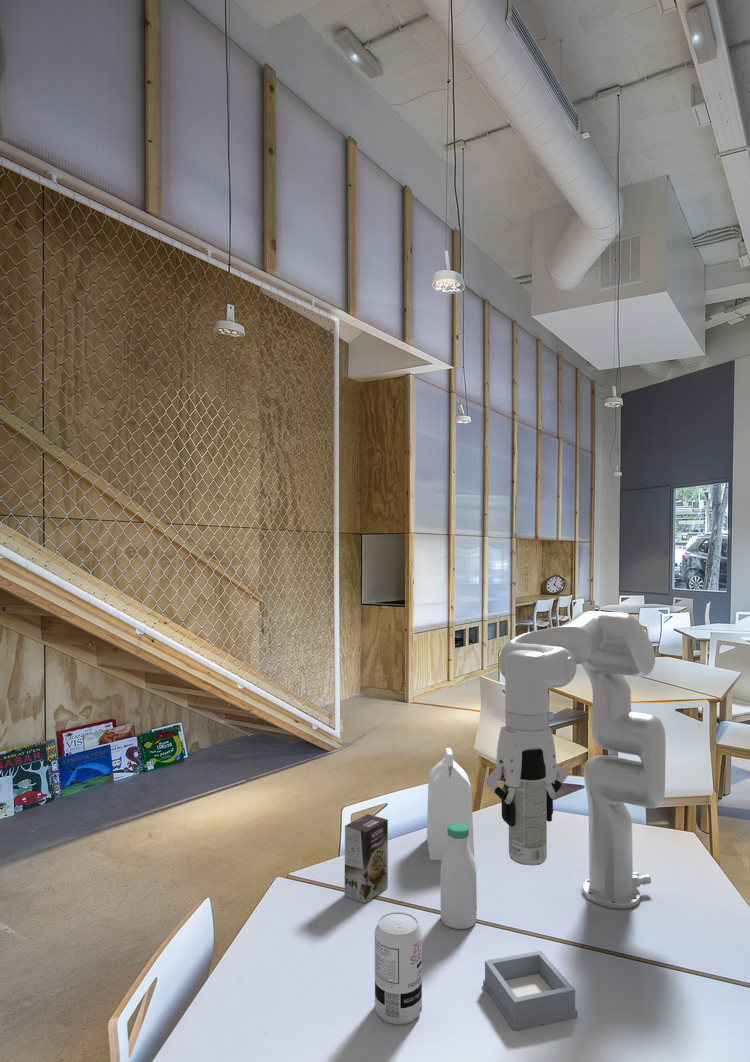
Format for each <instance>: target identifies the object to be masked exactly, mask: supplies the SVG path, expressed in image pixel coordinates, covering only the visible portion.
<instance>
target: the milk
mask: <svg viewBox="0 0 750 1062" xmlns="http://www.w3.org/2000/svg"><path fill="white" fill-rule="evenodd" d="M444 753H445V754H444V757H443V758H442V759H441V760H440V761H438V762H437V763H436V764H435V765H434V766H433V767H432V768H431V770H430V771H429V773H428V777H427V782H428V783H427V785H428V786H427V812H426V813H427V816H426V817H427V820H426V842H427V851H428V856H429V860H430V861H434V860H435V861H442V857H443V854H444V852H445V850H446V848H447V845H448V840H449V838H448V836H447V835H448V833H447V828H448V826H449V825H450V824H453V823H461V824H465V825H466V826H468V828H469V835H468V836H469V838H468V844H469V848H470V850H471V853H472V855H473V857H474V858H475V843H474V842H475V840H474V821H473V800H472V788H471V786H472V785H471V782H470V779H469V775H468V773H467V771H465V770H464V768H462V766H460V765H459V764H458V762H456V761H455V759H454V754H453V751H452V748H451V747H446V748H445V752H444Z"/></svg>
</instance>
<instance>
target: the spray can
mask: <svg viewBox="0 0 750 1062" xmlns="http://www.w3.org/2000/svg"><path fill="white" fill-rule="evenodd" d="M512 803H514V805H515V825H514V826H512V827H511V826H509V825H508V855H509V857H510V859H511V861H513V862H515V863H517V864H520V865H523V866H540V865H542V864H543V863H544V862H545V861H547V855H548V854H547V852H548V851H547V849H548V848H547V847H548V846H547V844H548V843H547V839H548V837H547V836H548V835H547V834H548V832H547V831H548V830H547V828H548V827H547V826H548V824H547V822H548V821H547V804H546V765H545V763H544V758H543V751H542V749H538V750H525V751H523V752H522V766H521V777H520V785H519V787H518V788H516V792H515V794H514V797H513V799H512Z"/></svg>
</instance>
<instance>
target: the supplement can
mask: <svg viewBox="0 0 750 1062" xmlns="http://www.w3.org/2000/svg"><path fill="white" fill-rule="evenodd" d="M374 929H375V930H374V1009H375V1011H376V1014H377V1015H378V1016H379V1017H380V1018H381V1019H382V1020H383V1021H385V1022H387V1023H388V1024H392V1025H396V1026H397V1025H398V1026H401V1025H406V1024H409V1023H412V1022H413V1021H414V1020H416V1019H417V1018H418V1017H419V1016H420V1014H421V1013H422V1010H423V983H422V981H423V971H422V970H423V965H422V963H423V960H422V959H423V958H422V957H423V955H422V954H423V951H422V950H423V949H422V948H423V945H422V944H423V941H422V939H423V935H422V932H423V931H422V929H421V926H420V925H419V921H418V920H417V918H416V916H414V915H412V914H410V913H406V912H402V911H401V912H400V911H393V912H388V913H385V914H384V915H381V916H380V917H379V919H378V922H377V923H376V926H375V928H374Z"/></svg>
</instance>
